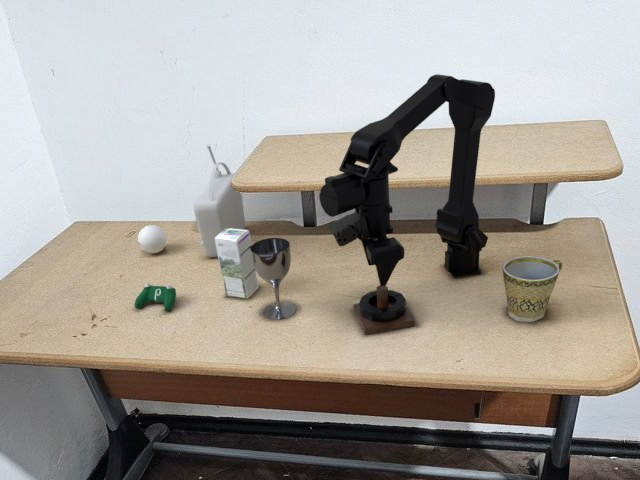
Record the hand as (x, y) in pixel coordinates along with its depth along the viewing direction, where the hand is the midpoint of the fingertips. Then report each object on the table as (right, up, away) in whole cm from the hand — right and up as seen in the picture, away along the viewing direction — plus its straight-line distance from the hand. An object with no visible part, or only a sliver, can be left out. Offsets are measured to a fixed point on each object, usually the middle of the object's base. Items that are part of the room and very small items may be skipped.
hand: (377, 274), depth 125 cm
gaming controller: (-47, -5, +16) cm, 50 cm away
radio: (-36, +13, +41) cm, 55 cm away
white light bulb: (-55, +10, +41) cm, 69 cm away
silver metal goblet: (-20, -7, +8) cm, 23 cm away
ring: (+1, -7, +1) cm, 7 cm away
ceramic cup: (+30, -8, -2) cm, 31 cm away
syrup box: (-28, -2, +17) cm, 33 cm away
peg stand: (+1, -9, +1) cm, 9 cm away
